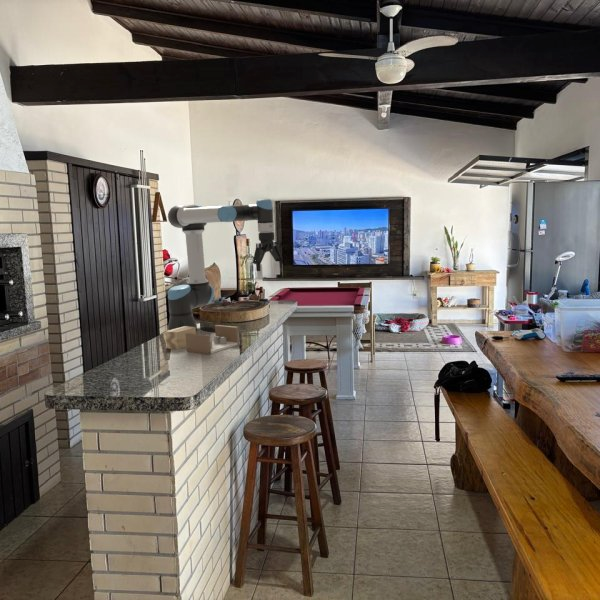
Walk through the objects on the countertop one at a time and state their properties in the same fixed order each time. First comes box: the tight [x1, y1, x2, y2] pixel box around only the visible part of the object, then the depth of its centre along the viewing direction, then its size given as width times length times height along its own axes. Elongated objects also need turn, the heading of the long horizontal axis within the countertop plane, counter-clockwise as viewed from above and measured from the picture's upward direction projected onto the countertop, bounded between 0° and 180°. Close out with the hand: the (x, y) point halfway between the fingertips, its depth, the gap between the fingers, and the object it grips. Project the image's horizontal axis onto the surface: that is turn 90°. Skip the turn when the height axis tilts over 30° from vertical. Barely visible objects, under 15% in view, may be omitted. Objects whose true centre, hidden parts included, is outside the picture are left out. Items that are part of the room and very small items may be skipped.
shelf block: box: [164, 326, 197, 351], centre depth 260 cm, size 7×12×8 cm, turn 145°
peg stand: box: [186, 324, 240, 355], centre depth 252 cm, size 13×20×8 cm, turn 145°
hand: (268, 276), depth 275 cm, fingers open, 13 cm apart
